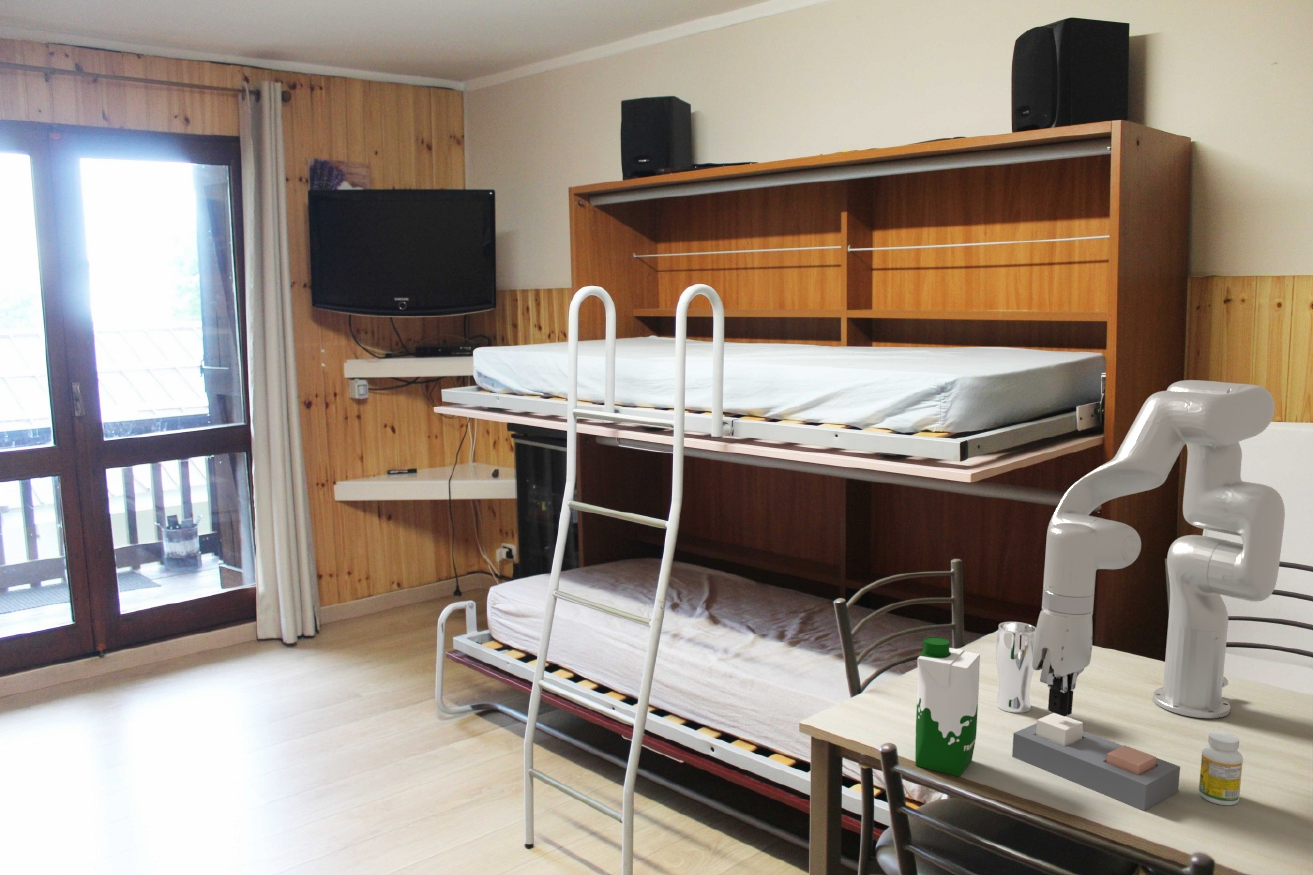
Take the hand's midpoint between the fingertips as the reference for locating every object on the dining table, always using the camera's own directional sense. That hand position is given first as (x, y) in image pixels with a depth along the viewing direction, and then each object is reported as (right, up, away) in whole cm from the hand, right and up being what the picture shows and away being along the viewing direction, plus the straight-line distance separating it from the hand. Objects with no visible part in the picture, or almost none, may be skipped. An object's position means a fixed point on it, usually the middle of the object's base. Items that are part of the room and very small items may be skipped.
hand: (1059, 712), depth 165 cm
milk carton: (-19, -8, 0) cm, 20 cm away
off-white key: (0, -5, +1) cm, 5 cm away
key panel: (+4, -9, -3) cm, 10 cm away
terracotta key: (+7, -8, -9) cm, 14 cm away
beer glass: (0, -5, +23) cm, 23 cm away
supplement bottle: (+20, -10, -11) cm, 25 cm away
